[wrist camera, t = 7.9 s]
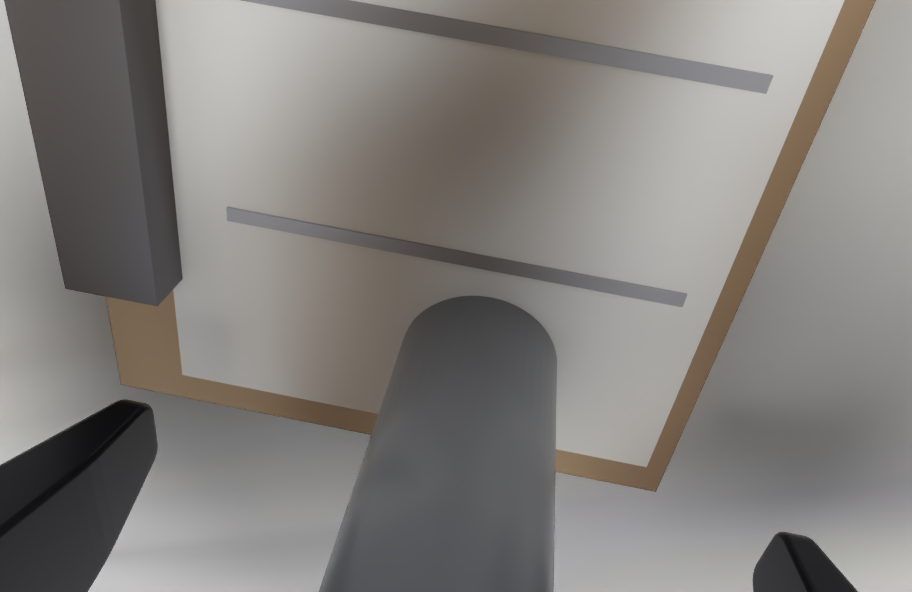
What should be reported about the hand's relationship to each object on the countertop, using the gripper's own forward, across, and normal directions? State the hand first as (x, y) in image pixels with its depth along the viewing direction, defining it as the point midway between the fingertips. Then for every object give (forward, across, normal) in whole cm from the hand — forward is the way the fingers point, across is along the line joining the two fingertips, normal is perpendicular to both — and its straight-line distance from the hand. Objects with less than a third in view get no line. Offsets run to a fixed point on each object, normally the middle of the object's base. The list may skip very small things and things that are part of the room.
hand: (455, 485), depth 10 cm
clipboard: (+4, +2, -4) cm, 5 cm away
